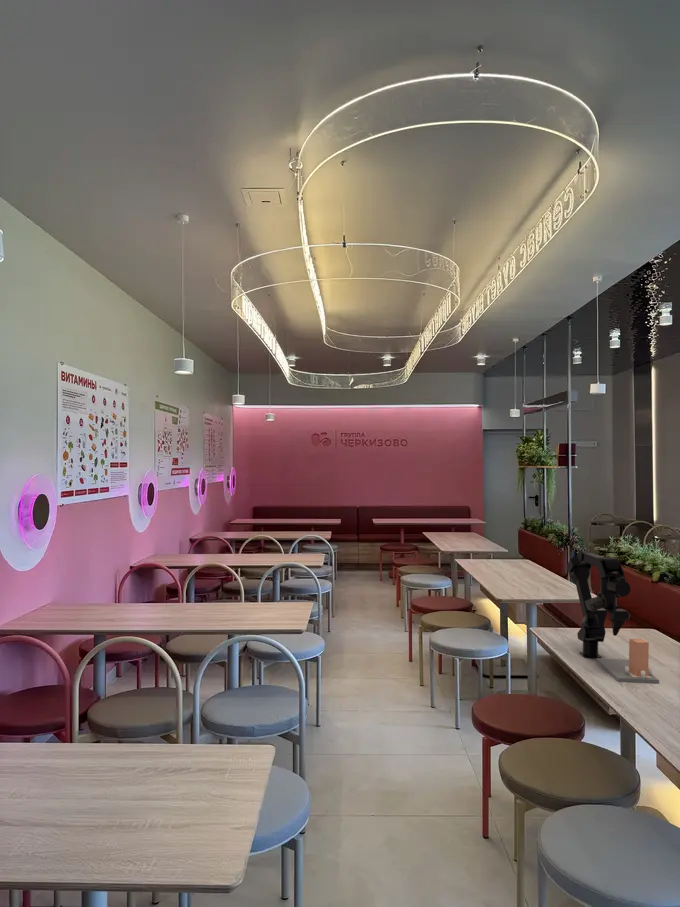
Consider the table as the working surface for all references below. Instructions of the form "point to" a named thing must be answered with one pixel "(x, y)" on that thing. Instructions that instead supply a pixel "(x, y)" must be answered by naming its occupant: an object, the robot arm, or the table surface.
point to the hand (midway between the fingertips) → (607, 632)
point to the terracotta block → (638, 656)
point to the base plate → (625, 671)
